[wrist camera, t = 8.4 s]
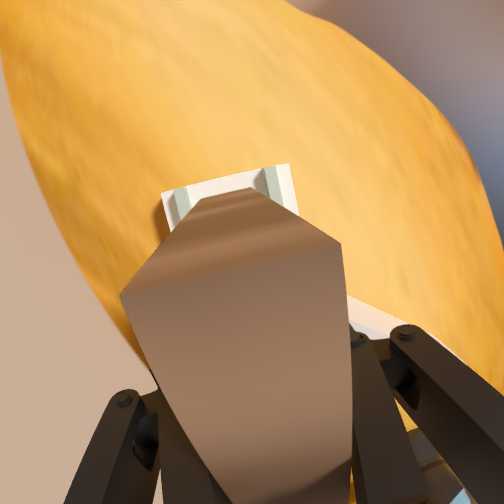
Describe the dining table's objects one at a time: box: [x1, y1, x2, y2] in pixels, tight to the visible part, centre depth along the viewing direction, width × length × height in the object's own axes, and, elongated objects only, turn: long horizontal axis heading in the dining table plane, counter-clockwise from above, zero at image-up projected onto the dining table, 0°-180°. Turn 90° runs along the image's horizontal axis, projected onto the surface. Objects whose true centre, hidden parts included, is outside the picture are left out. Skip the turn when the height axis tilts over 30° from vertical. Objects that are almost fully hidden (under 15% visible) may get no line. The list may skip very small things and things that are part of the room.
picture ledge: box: [161, 163, 299, 232], centre depth 29 cm, size 14×12×4 cm
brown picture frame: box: [119, 187, 352, 504], centre depth 12 cm, size 12×4×14 cm, turn 12°
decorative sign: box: [347, 295, 468, 366], centre depth 31 cm, size 32×4×10 cm, turn 63°
